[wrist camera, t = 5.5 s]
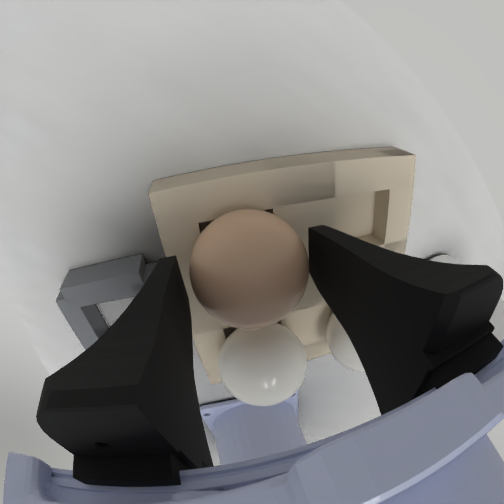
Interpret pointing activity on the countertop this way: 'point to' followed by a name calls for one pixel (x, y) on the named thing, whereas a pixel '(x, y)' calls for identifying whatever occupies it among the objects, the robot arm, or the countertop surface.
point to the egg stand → (99, 293)
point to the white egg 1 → (262, 364)
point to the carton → (287, 220)
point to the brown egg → (249, 269)
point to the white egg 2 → (342, 346)
